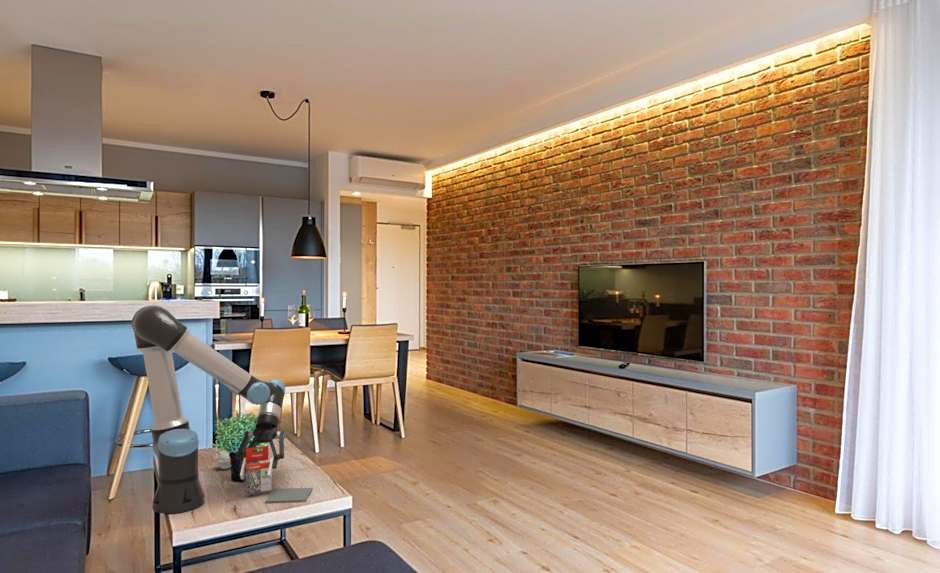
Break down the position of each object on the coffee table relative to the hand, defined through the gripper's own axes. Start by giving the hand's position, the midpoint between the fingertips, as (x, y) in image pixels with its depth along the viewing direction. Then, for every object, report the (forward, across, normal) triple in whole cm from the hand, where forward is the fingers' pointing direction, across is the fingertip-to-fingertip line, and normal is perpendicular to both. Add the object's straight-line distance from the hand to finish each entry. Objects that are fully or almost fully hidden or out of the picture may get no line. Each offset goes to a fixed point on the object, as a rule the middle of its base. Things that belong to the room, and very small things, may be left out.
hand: (255, 477), depth 202 cm
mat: (+4, -11, -5) cm, 13 cm away
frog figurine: (-18, +21, -29) cm, 40 cm away
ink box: (+2, 0, -7) cm, 7 cm away
